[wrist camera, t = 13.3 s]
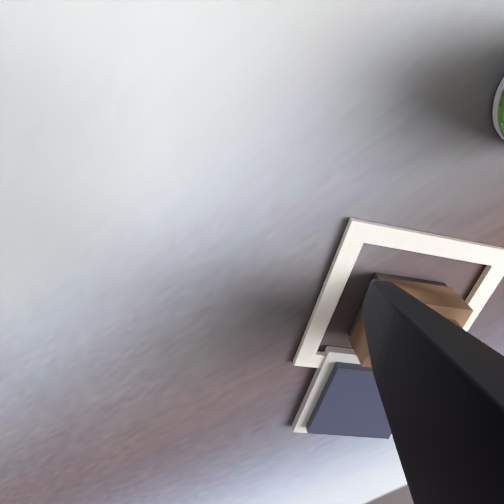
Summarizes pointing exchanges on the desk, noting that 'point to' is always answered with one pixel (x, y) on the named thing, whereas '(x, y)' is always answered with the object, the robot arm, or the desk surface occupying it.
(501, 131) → the supplement bottle
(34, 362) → the desk surface
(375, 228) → the marked square
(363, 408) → the ink pad
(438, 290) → the stamp
